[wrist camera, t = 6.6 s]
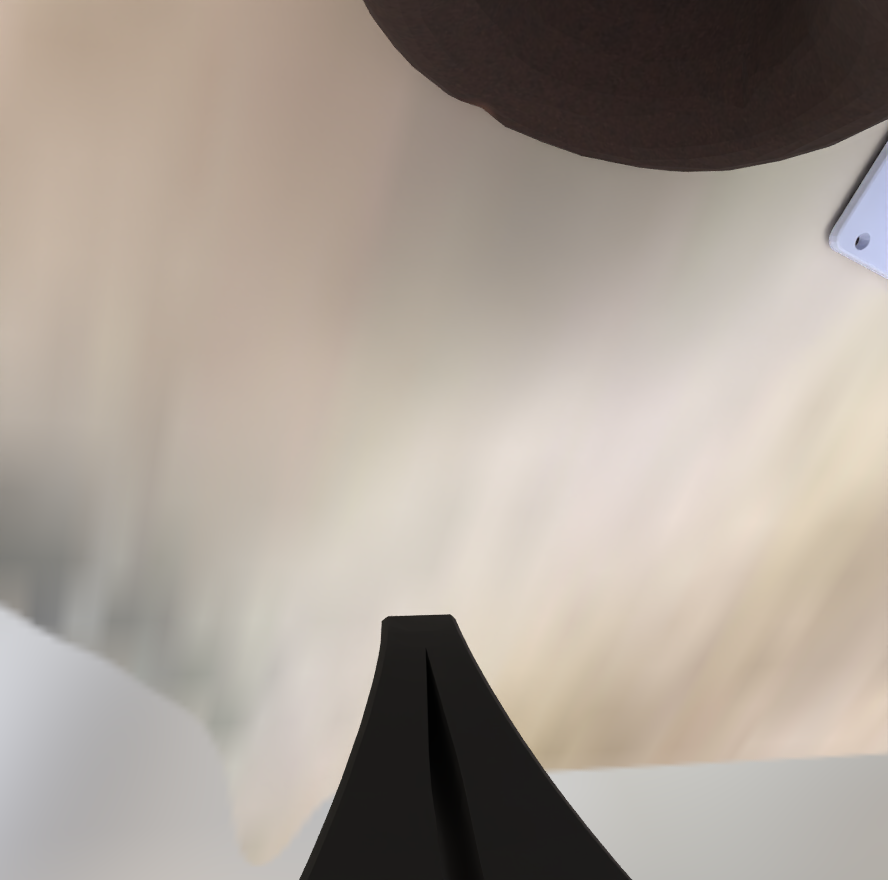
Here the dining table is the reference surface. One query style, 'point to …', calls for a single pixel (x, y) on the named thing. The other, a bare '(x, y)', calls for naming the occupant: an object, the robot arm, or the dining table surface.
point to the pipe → (657, 73)
